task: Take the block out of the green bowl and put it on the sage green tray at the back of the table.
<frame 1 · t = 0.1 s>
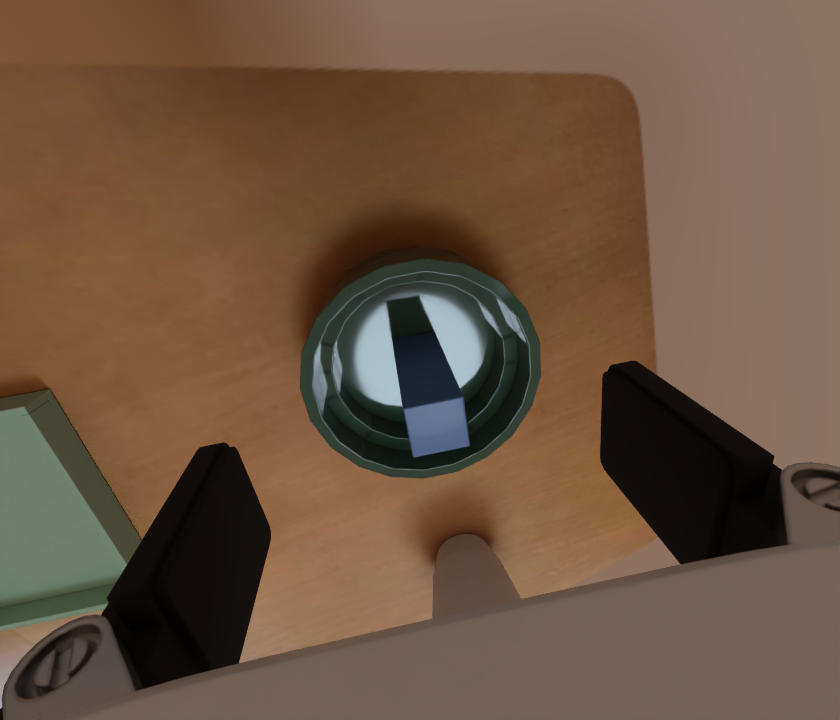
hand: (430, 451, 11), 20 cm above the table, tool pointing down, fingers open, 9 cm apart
green bowl: (416, 351, 32), on the table
cup: (461, 551, 41), on the table
tray: (22, 510, 33), on the table
block: (416, 354, 31), resting on green bowl
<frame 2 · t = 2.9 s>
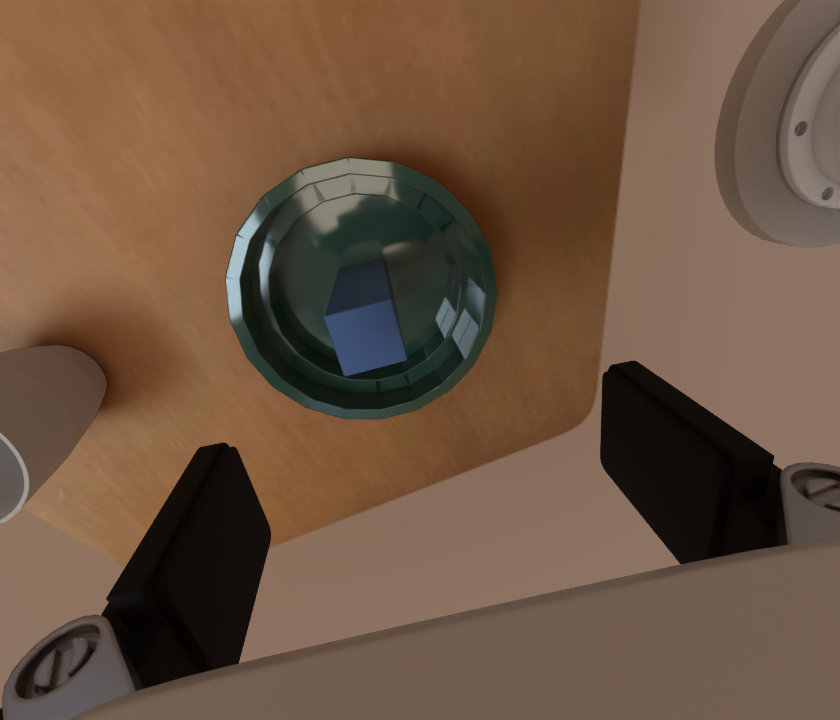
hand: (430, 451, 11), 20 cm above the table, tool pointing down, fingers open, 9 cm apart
green bowl: (366, 285, 29), on the table
cup: (68, 376, 29), on the table
block: (366, 287, 29), resting on green bowl
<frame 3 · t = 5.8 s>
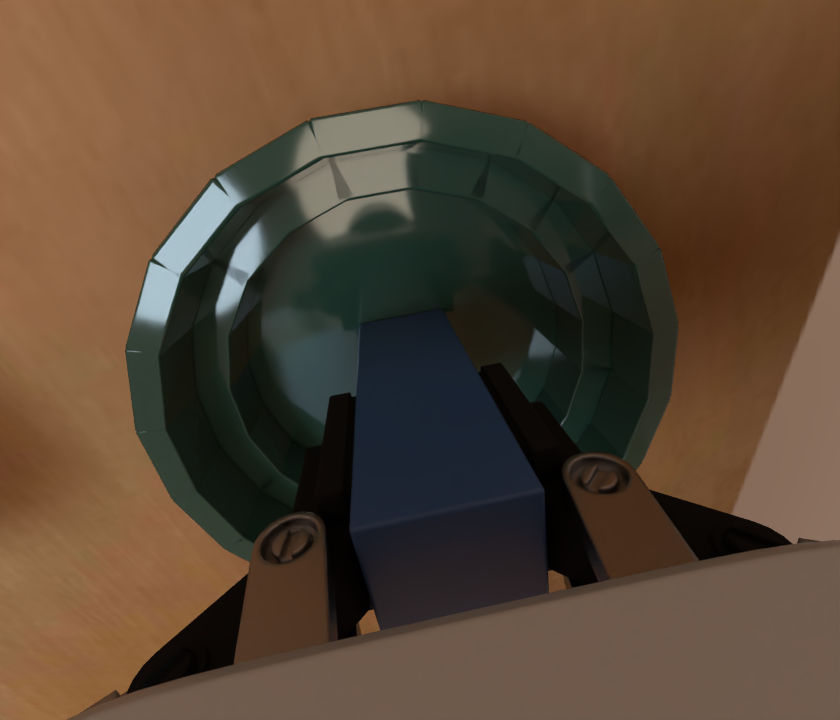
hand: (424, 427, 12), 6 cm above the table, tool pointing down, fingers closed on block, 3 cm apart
green bowl: (406, 349, 17), on the table
block: (407, 354, 16), point 1 cm above the table, touching gripper
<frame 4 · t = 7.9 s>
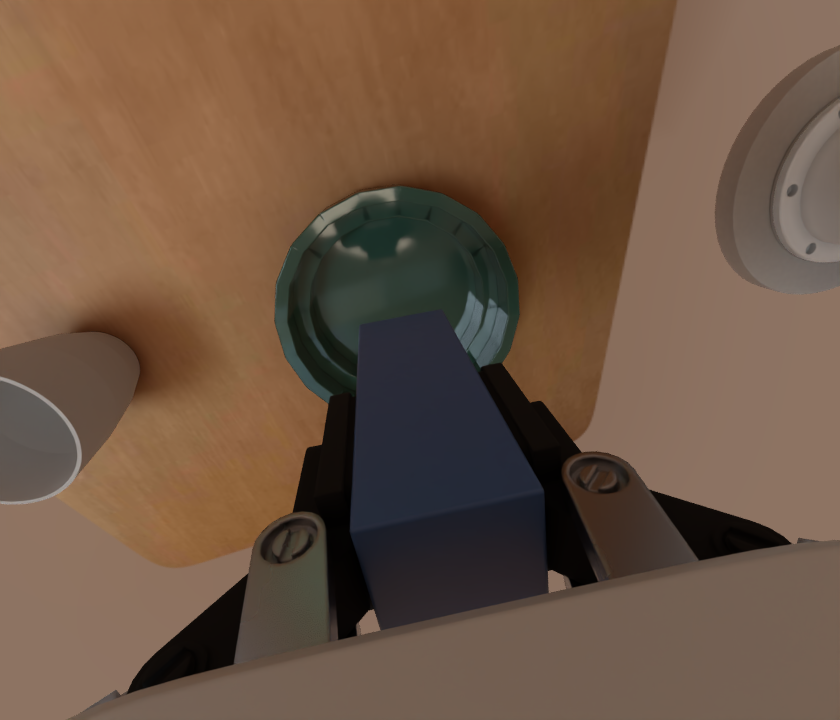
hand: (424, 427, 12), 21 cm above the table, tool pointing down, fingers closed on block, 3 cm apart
green bowl: (395, 298, 31), on the table
cup: (103, 362, 31), on the table
block: (408, 354, 16), point 16 cm above the table, touching gripper
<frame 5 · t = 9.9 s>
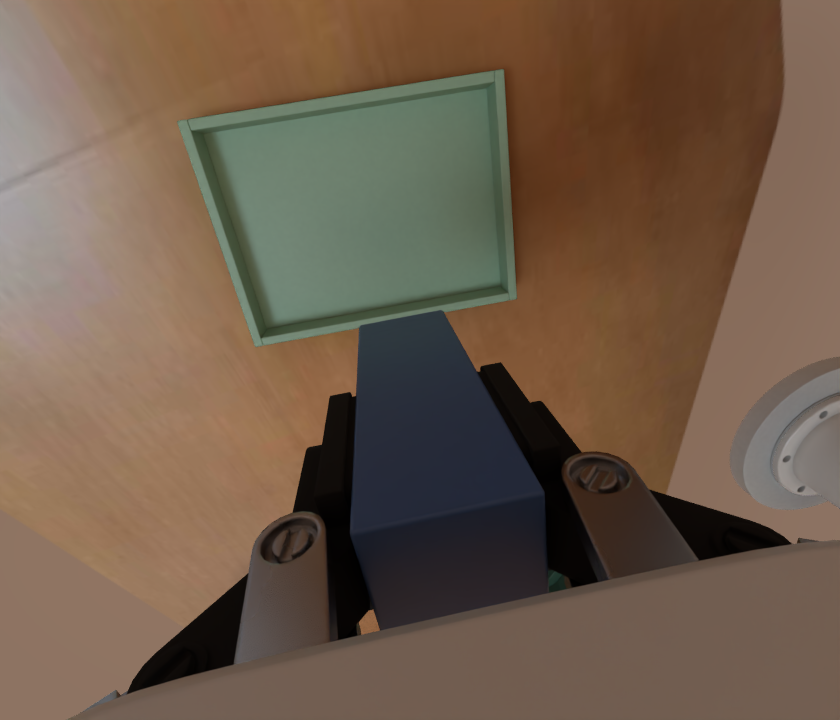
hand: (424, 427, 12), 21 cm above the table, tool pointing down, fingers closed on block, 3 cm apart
green bowl: (498, 535, 43), on the table
tray: (367, 217, 29), on the table
block: (408, 355, 16), point 16 cm above the table, touching gripper
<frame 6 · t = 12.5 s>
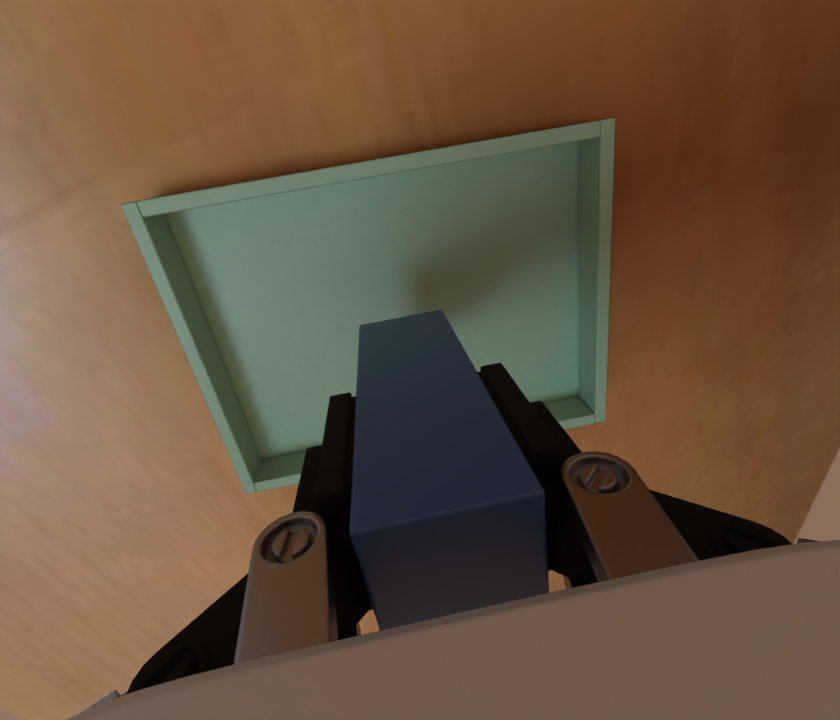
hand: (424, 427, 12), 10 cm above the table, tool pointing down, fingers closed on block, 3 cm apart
tray: (401, 315, 21), on the table
block: (407, 354, 16), point 5 cm above the table, touching gripper
when the fingers open (6 cm above the table, at t = 14.1 s): block stays where it is, resting on tray.
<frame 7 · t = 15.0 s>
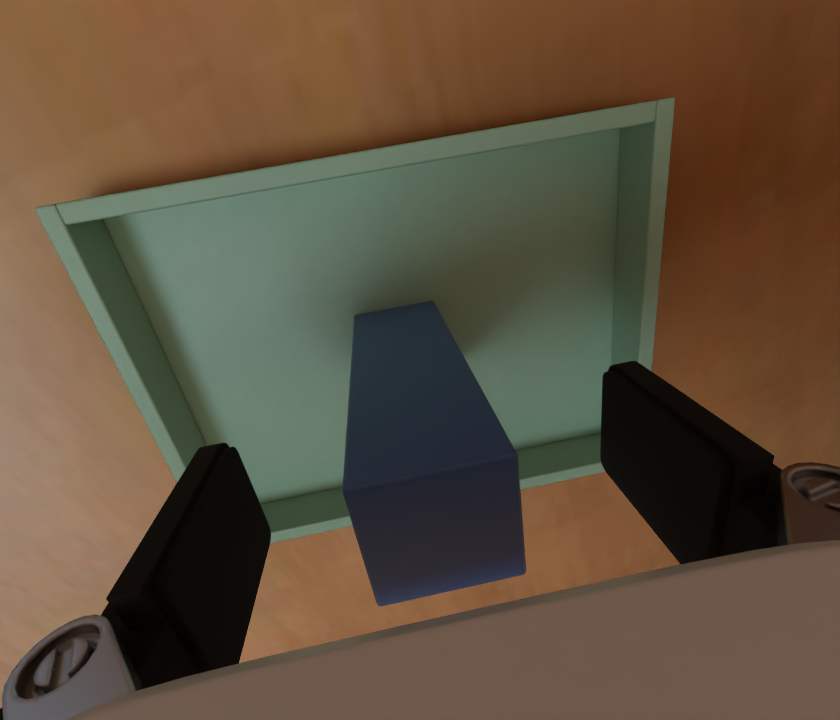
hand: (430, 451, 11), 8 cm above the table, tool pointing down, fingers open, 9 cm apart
tray: (401, 339, 18), on the table
block: (400, 344, 17), resting on tray
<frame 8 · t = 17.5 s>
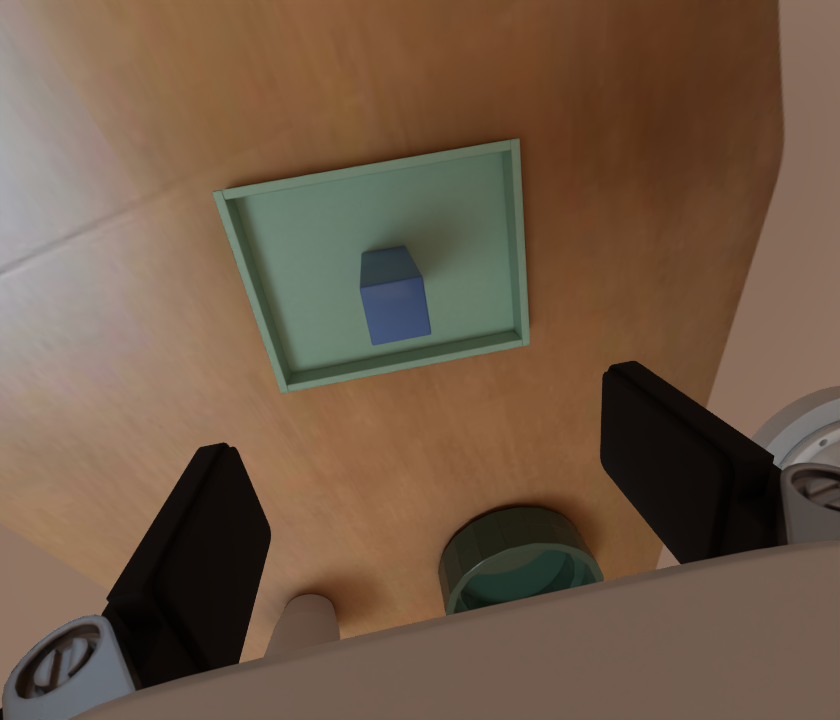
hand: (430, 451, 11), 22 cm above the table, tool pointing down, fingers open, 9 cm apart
green bowl: (509, 559, 45), on the table
cup: (309, 608, 45), on the table
tray: (387, 269, 31), on the table
block: (387, 271, 30), resting on tray
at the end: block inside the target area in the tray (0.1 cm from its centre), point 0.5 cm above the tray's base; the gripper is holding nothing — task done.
